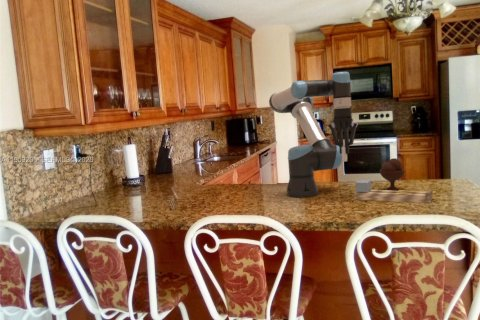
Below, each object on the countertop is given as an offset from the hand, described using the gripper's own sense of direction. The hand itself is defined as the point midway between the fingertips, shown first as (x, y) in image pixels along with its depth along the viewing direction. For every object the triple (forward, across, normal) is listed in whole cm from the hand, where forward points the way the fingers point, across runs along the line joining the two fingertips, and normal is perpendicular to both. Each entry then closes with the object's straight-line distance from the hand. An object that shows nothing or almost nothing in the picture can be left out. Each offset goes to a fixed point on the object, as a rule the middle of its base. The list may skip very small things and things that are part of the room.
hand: (344, 161), depth 182 cm
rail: (+17, +20, 0) cm, 26 cm away
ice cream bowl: (+17, +16, +20) cm, 31 cm away
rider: (+15, +8, 0) cm, 17 cm away
